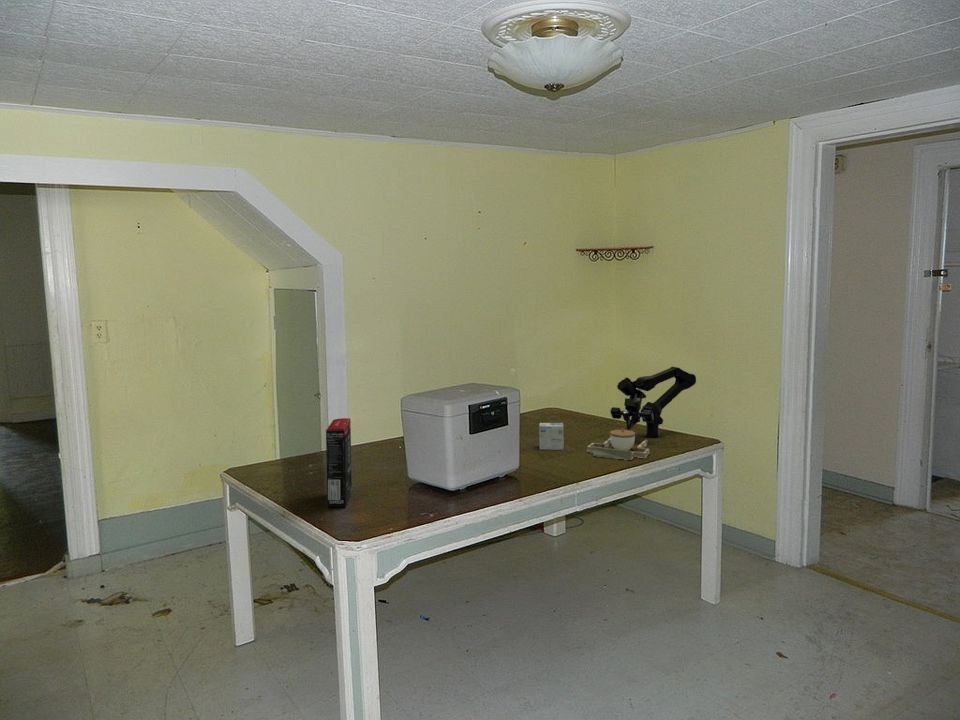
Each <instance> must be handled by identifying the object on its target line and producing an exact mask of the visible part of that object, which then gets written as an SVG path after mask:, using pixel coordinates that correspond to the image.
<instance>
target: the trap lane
mask: <svg viewBox="0 0 960 720" xmlns="http://www.w3.org/2000/svg"><path fill="white" fill-rule="evenodd" d="M610 444H611V440H610V437H609V438H608V439H607V440H605V441H604V442H603V443H600V442H592V443H590V444H588V445H587V446H586V453H587V452H590V453H589V454H592V455H593V456H596V457H595V458H601V457H605V458H604V459H610V458H615V459H614V460H618V459H624V460H623V461H627V460H632V459H633V458H634V457H638V458H637V459H639V458H646V457H647V456H648V455H649V454H650V448H646V447H647V446H648V439H644V440H643V441H642V442H641V443H640V444H639V445H637V447H635V451H632V450H629V451H628V450H619V449H615V448H608V447H610V446H611V445H612V444H611V445H610ZM609 445H610V446H609ZM606 447H607V448H606ZM650 455H651V454H650ZM650 455H649V456H650ZM593 456H592V457H593ZM649 456H648V457H649ZM648 457H647V458H648ZM647 458H646V459H647ZM634 459H635V458H634ZM632 461H633V460H632Z"/></svg>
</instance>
